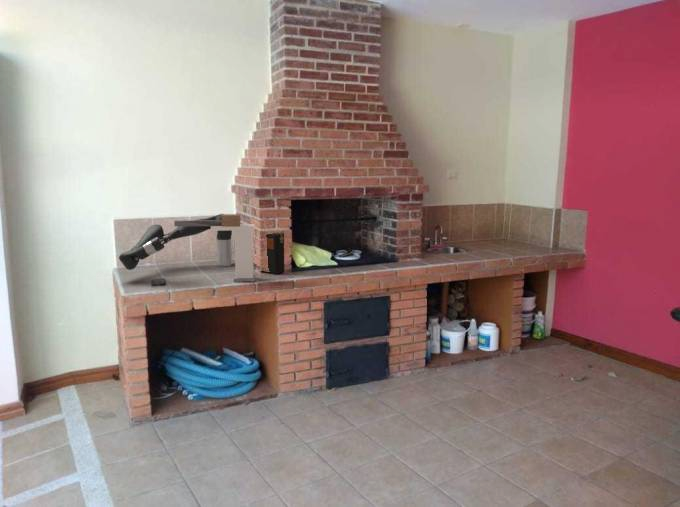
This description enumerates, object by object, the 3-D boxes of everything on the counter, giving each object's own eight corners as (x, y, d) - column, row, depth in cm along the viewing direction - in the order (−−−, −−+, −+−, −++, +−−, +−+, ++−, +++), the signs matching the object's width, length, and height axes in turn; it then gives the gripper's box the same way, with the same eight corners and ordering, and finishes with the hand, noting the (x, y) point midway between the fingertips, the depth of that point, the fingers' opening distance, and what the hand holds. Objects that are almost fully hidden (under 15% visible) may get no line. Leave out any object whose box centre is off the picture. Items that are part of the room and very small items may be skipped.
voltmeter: (286, 272, 336) (285, 232, 331) (277, 275, 329) (277, 234, 324) (266, 269, 344) (265, 230, 339) (257, 272, 336) (256, 232, 331)
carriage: (175, 225, 308) (175, 214, 307) (240, 224, 313) (240, 214, 312) (174, 227, 301) (173, 216, 300) (239, 226, 306) (239, 215, 305)
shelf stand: (213, 278, 319) (212, 224, 312) (255, 277, 322) (254, 224, 316) (212, 282, 309) (210, 227, 303) (255, 281, 312) (254, 226, 306)
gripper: (159, 249, 318) (183, 235, 319) (155, 254, 304) (180, 239, 305) (152, 238, 316) (176, 224, 317) (148, 242, 302) (173, 228, 303)
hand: (178, 232), depth 311 cm, fingers open, 8 cm apart
